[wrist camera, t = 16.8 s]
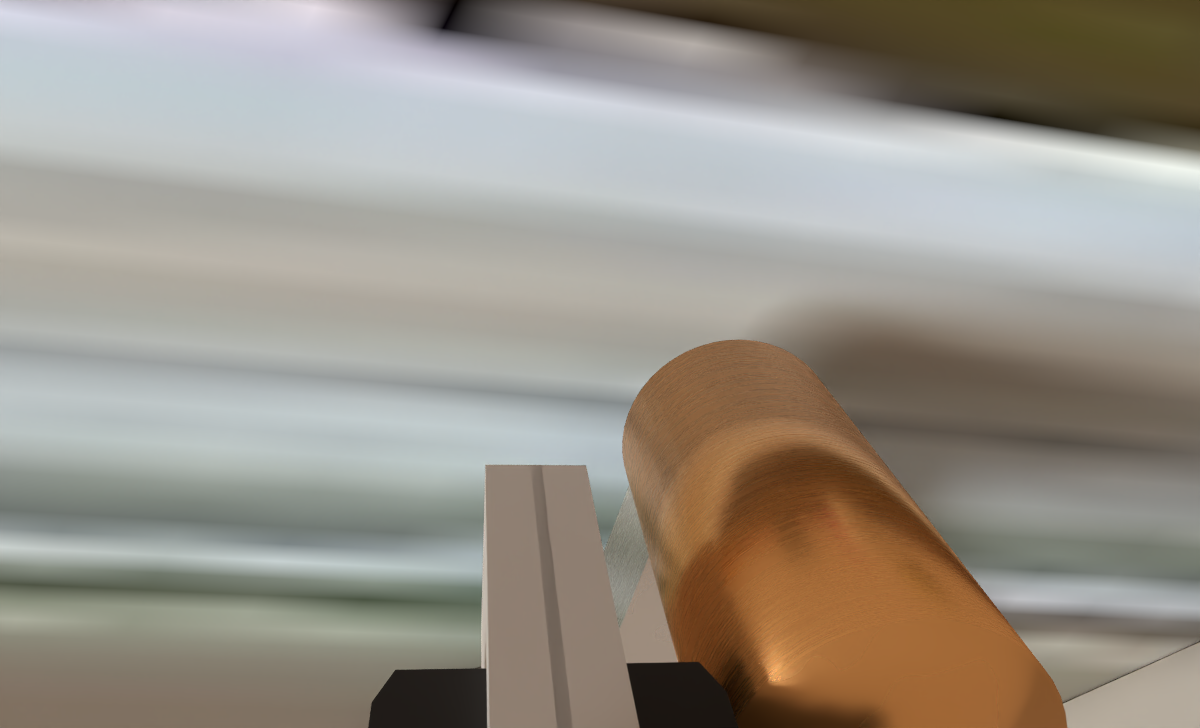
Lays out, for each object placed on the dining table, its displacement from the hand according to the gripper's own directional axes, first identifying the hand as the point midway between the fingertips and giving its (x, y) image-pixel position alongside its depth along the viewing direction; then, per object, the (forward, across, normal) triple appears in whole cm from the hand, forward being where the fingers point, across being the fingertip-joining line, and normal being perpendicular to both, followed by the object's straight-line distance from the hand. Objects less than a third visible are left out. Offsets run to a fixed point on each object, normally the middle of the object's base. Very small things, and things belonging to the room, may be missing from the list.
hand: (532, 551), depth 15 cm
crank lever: (+4, +2, -6) cm, 8 cm away
